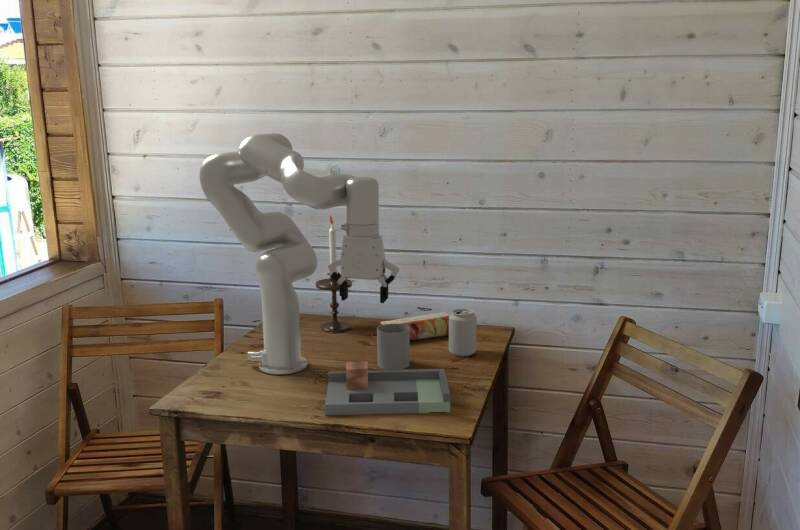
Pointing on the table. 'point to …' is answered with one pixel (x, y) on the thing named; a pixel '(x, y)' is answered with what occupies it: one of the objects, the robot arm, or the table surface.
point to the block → (357, 375)
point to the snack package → (424, 325)
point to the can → (462, 332)
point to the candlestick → (333, 289)
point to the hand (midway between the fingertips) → (363, 300)
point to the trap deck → (389, 393)
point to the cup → (393, 346)
